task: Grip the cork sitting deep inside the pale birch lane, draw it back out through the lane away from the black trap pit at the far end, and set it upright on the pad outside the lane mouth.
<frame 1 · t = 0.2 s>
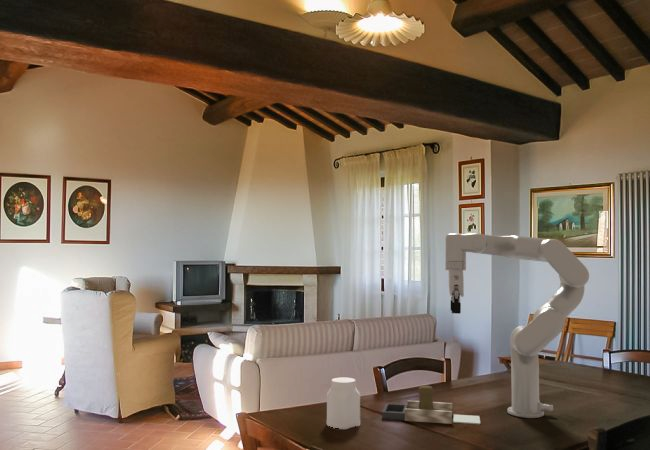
hand: (455, 311, 219), 36 cm above the table, tool pointing down, fingers open, 9 cm apart
jar: (343, 424, 199), on the table
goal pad: (466, 419, 204), on the table
cork: (426, 417, 207), on the table
trap pit: (395, 415, 210), on the table
birch lane: (428, 417, 207), on the table
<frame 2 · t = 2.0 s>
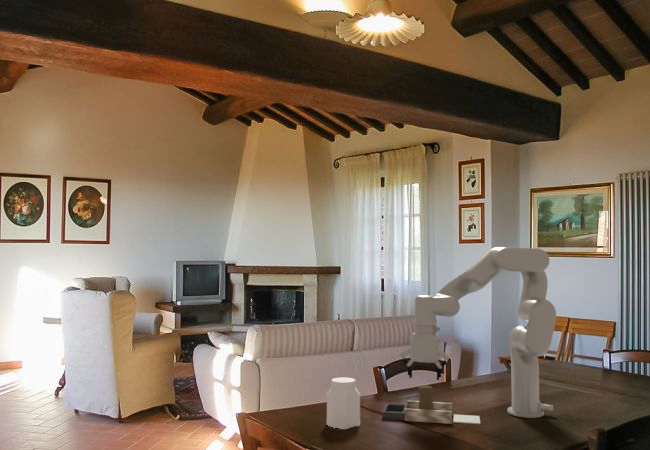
hand: (424, 378, 208), 14 cm above the table, tool pointing down, fingers open, 9 cm apart
nothing on the table moved.
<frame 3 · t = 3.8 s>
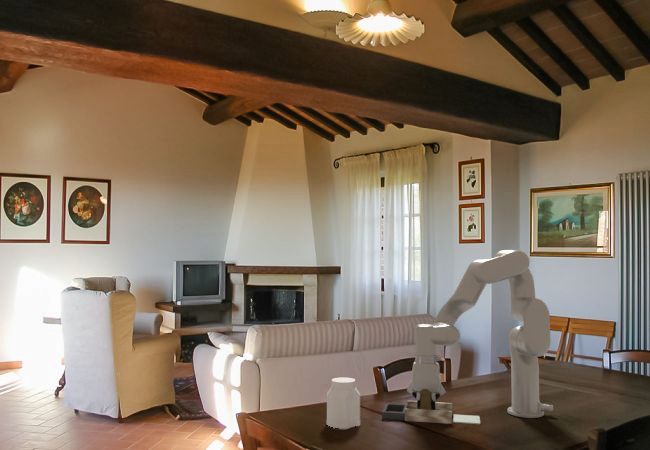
hand: (426, 410, 207), 2 cm above the table, tool pointing down, fingers closed on cork, 3 cm apart
cork: (425, 417, 207), on the table, touching gripper
everything else where it was.
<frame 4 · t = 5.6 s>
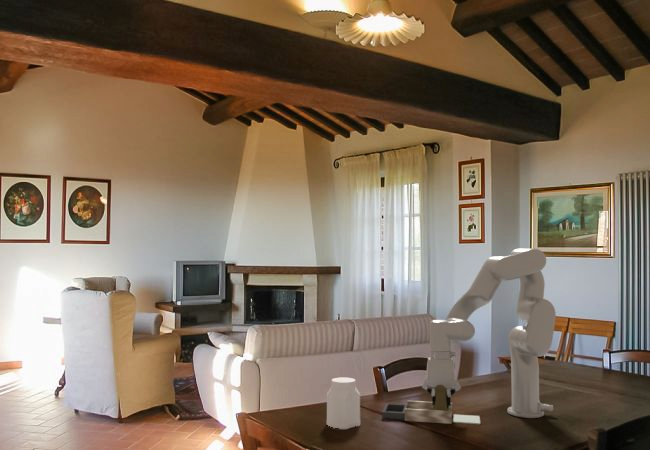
hand: (441, 406, 206), 4 cm above the table, tool pointing down, fingers closed on cork, 3 cm apart
cork: (441, 413, 206), point 1 cm above the table, touching gripper
everything else where it was.
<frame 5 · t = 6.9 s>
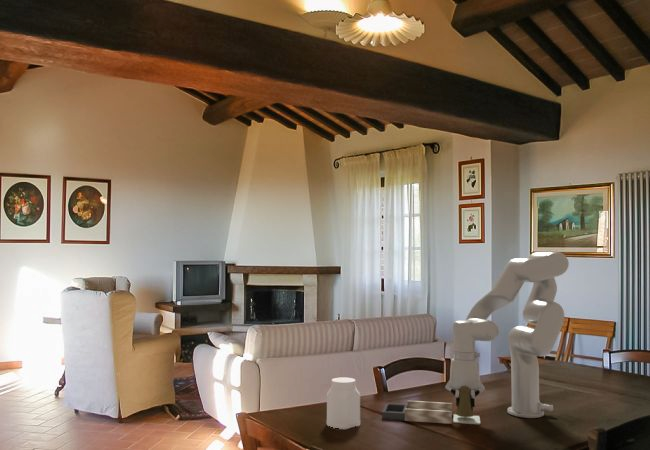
hand: (465, 408, 205), 4 cm above the table, tool pointing down, fingers closed on cork, 3 cm apart
cork: (465, 415, 205), point 2 cm above the table, touching gripper
everything else where it was.
when the fingers open (4 cm above the table, at t = 7.8 s): cork drops 1 cm, resting on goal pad.
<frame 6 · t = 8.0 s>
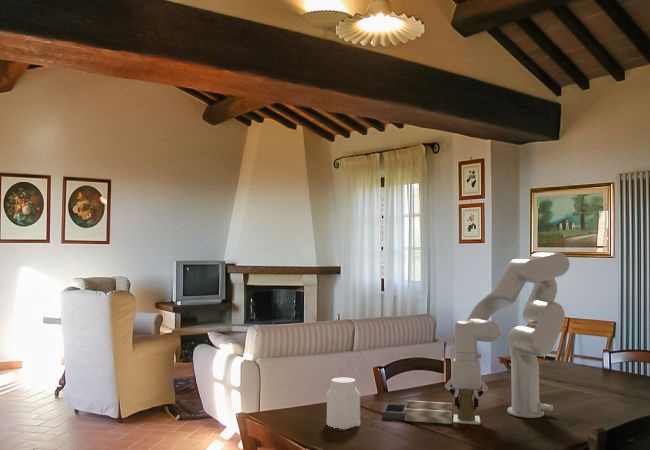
hand: (466, 408, 204), 4 cm above the table, tool pointing down, fingers open, 5 cm apart
cork: (466, 419, 204), resting on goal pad
everything else where it was.
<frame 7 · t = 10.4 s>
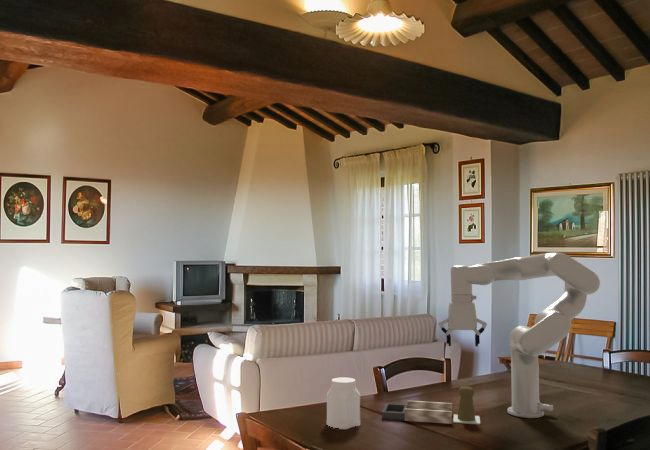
hand: (463, 345, 214), 24 cm above the table, tool pointing down, fingers open, 9 cm apart
nothing on the table moved.
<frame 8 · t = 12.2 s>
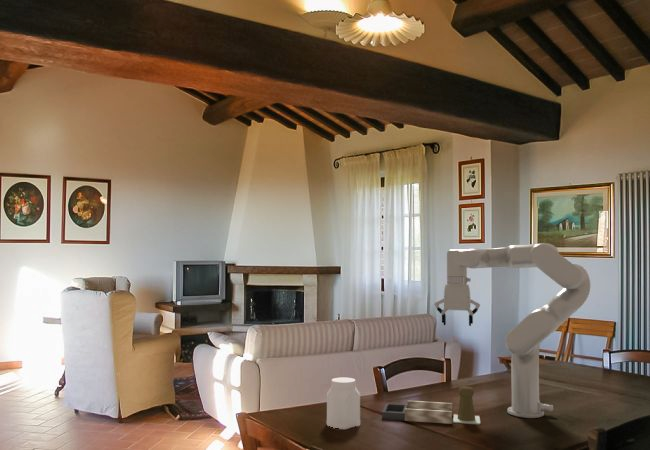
hand: (457, 325, 227), 30 cm above the table, tool pointing down, fingers open, 9 cm apart
nothing on the table moved.
at the end: cork inside the target area on the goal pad (0.1 cm from its centre), point 0.2 cm above the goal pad's base; cork tilted 0°; cork touching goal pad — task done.
